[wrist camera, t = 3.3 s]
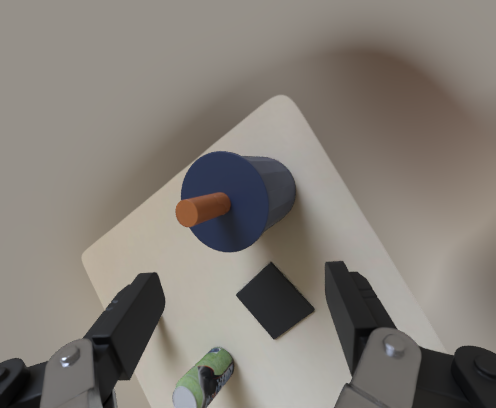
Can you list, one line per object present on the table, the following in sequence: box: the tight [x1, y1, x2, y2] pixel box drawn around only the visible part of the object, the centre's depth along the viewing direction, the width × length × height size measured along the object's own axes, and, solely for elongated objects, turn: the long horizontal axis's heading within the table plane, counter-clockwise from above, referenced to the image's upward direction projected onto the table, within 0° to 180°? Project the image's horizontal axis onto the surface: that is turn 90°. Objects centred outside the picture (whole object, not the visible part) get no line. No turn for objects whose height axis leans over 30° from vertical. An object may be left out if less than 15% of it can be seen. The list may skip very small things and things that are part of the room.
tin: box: [243, 156, 296, 231], centre depth 33 cm, size 11×11×12 cm
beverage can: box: [172, 347, 234, 408], centre depth 43 cm, size 6×7×12 cm
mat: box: [236, 262, 315, 339], centre depth 41 cm, size 10×10×1 cm
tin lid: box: [176, 151, 271, 252], centre depth 25 cm, size 12×12×7 cm
